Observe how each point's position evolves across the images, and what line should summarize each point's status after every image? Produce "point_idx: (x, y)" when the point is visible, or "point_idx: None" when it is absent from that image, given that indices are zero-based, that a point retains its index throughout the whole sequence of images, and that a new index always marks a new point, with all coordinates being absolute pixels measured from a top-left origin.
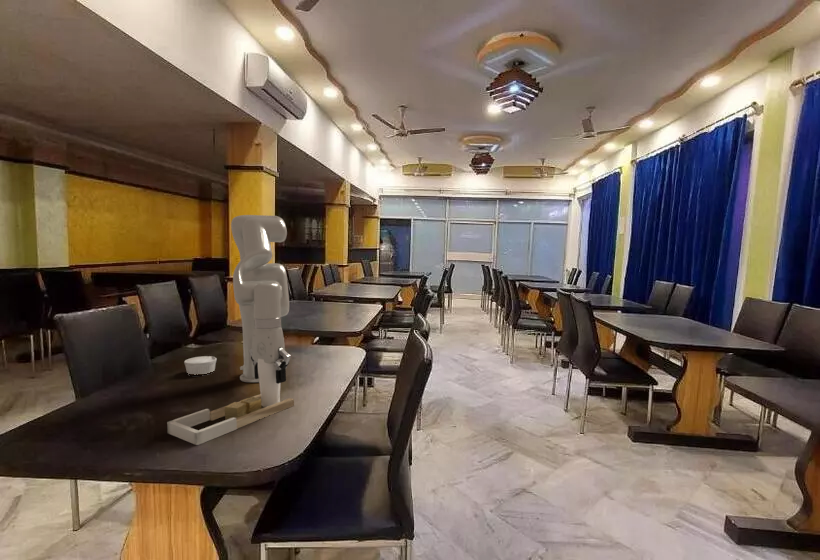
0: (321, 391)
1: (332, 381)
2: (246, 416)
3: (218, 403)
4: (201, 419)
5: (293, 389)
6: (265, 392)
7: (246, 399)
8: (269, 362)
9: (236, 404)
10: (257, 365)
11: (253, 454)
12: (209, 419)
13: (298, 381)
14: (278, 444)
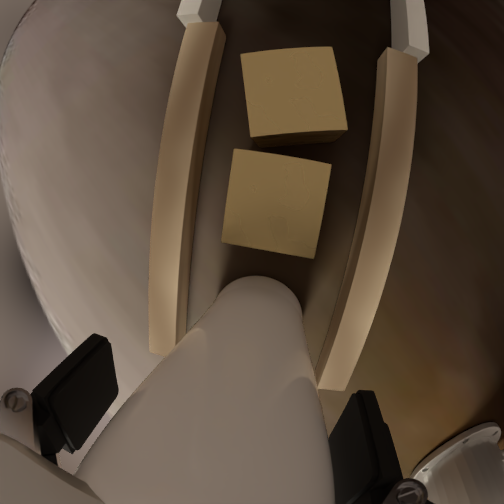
0: None
1: None
2: (184, 78)
3: (493, 244)
4: (395, 27)
5: None
6: (229, 305)
7: (306, 195)
8: (7, 447)
9: (295, 95)
10: (370, 493)
11: (59, 10)
12: None
13: None
14: (32, 69)
